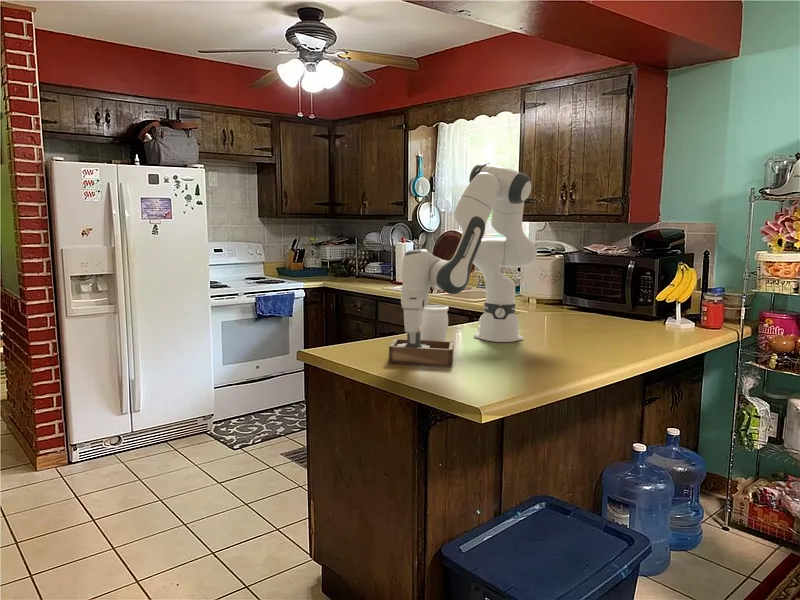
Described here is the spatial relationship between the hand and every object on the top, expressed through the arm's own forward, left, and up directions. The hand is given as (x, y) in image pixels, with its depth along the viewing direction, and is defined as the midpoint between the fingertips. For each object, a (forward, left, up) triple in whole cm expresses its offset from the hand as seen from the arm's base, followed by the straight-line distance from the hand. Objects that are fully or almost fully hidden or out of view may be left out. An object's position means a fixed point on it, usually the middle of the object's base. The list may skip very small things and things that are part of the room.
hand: (413, 341), depth 197 cm
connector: (0, 0, -4) cm, 4 cm away
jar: (-20, +5, -6) cm, 22 cm away
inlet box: (0, +3, -6) cm, 7 cm away
